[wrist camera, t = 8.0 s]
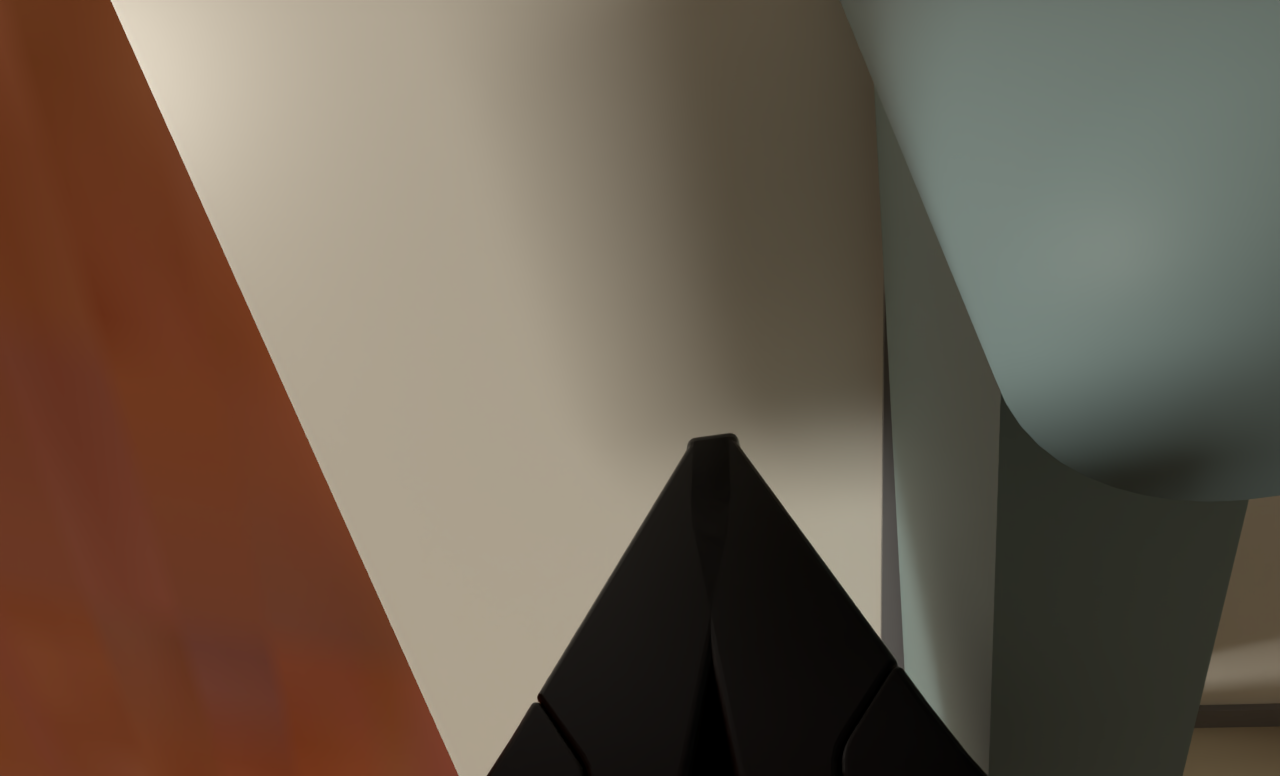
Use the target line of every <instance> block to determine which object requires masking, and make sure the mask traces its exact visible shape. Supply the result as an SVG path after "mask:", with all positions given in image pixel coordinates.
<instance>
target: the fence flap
mask: <svg viewBox="0 0 1280 776" xmlns="http://www.w3.org/2000/svg"><path fill="white" fill-rule="evenodd" d="M840 2H841V4H842V7H843V9H844V12H845V14H846V17H847V19H848V21H849V24H850V26H851V29H852V31H853V34H854V36H855V39H856V41H857V43H858V46H859V48H860V51H861V53H862V56H863V58H864V60H865V63H866V65H867V68H868V70H869V73H870V75H871V77H872V80H873V82H874V96H875V115H876V134H877V153H878V172H879V191H880V210H881V229H882V248H883V267H884V286H885V306H886V325H887V344H888V363H889V382H890V401H891V420H892V439H893V458H894V477H895V496H896V516H897V535H898V554H899V573H900V592H901V611H902V630H903V649H904V668H905V672H906V673H907V675H908V676H909V678H910V679H911V680H912V682H913V683H914V684H915V686H916V687H917V688H918V690H919V691H920V693H921V694H922V695H923V697H924V698H925V699H926V701H927V702H928V703H929V705H930V706H931V707H932V708H933V710H934V711H935V712H936V714H937V715H938V716H939V717H940V719H941V720H942V721H943V722H944V724H945V725H946V726H947V727H948V729H949V730H950V731H951V733H952V734H953V735H954V736H955V738H956V739H957V740H958V741H959V743H960V744H961V745H962V746H963V748H964V749H965V750H966V752H967V753H968V754H969V755H970V756H971V757H972V759H973V760H974V761H975V762H976V763H977V764H978V765H979V766H980V767H981V769H982V770H983V771H984V772H985V773H986V774H987V775H988V776H1183V772H1184V768H1185V764H1186V760H1187V755H1188V751H1189V747H1190V743H1191V739H1192V735H1193V731H1194V726H1195V722H1196V718H1197V714H1198V710H1199V706H1200V701H1201V697H1202V693H1203V689H1204V685H1205V681H1206V676H1207V672H1208V668H1209V664H1210V660H1211V656H1212V651H1213V647H1214V643H1215V639H1216V635H1217V631H1218V626H1219V622H1220V618H1221V614H1222V610H1223V606H1224V601H1225V597H1226V593H1227V589H1228V585H1229V581H1230V577H1231V572H1232V568H1233V564H1234V560H1235V556H1236V552H1237V547H1238V543H1239V539H1240V535H1241V531H1242V527H1243V522H1244V518H1245V514H1246V510H1247V506H1248V502H1249V499H1256V498H1264V497H1272V496H1280V0H840Z"/></svg>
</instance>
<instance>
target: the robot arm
mask: <svg viewBox="0 0 1280 776" xmlns="http://www.w3.org/2000/svg"><path fill="white" fill-rule="evenodd" d="M537 700H538V702H539V703H538V702H534V703H532V704H531V706H530V707H529V709H528V711H527V712H526V714H525V716H524V717H523V719H522V721H521V723H520V724H519V726H518V727H517V729H516V731H515V732H514V734H513V736H512V737H511V739H510V740H509V742H508V743H507V745H506V747H505V748H504V750H503V751H502V753H501V754H500V756H499V757H498V759H497V760H496V762H495V764H494V765H493V767H492V768H491V770H490V771H489V773H488V774H487V776H988V775H987V774H986V773H985V772H984V771H983V770H982V769H981V767H980V766H979V765H978V764H977V763H976V762H975V761H974V760H973V759H972V757H971V756H970V755H969V754H968V753H967V752H966V750H965V749H964V748H963V746H962V745H961V744H960V743H959V741H958V740H957V739H956V738H955V736H954V735H953V734H952V733H951V731H950V730H949V729H948V727H947V726H946V725H945V724H944V722H943V721H942V720H941V719H940V717H939V716H938V715H937V714H936V712H935V711H934V710H933V708H932V707H931V706H930V705H929V703H928V702H927V701H926V699H925V698H924V697H923V695H922V694H921V693H920V691H919V690H918V688H917V687H916V686H915V684H914V683H913V682H912V680H911V679H910V678H909V676H908V675H907V673H906V672H905V671H904V670H903V669H902V668H901V667H898V664H897V661H896V659H895V658H894V656H893V655H892V654H891V652H890V651H889V650H888V648H887V647H886V646H885V644H884V643H883V641H882V640H881V639H880V637H879V636H878V635H877V633H876V632H875V631H874V629H873V628H872V626H871V625H870V624H869V622H868V621H867V620H866V618H865V617H864V616H863V614H862V613H861V611H860V610H859V609H858V607H857V606H856V605H855V603H854V602H853V600H852V599H851V598H850V596H849V595H848V594H847V592H846V591H845V590H844V588H843V587H842V585H841V584H840V583H839V581H838V580H837V579H836V577H835V576H834V575H833V573H832V572H831V570H830V569H829V568H828V566H827V565H826V564H825V562H824V561H823V559H822V558H821V557H820V555H819V554H818V553H817V551H816V550H815V549H814V547H813V546H812V544H811V543H810V542H809V540H808V539H807V538H806V536H805V535H804V534H803V532H802V531H801V529H800V528H799V527H798V525H797V524H796V523H795V521H794V520H793V519H792V517H791V516H790V514H789V513H788V512H787V510H786V509H785V508H784V506H783V505H782V503H781V502H780V501H779V499H778V498H777V497H776V495H775V494H774V493H773V491H772V490H771V488H770V487H769V486H768V484H767V483H766V482H765V480H764V479H763V478H762V476H761V475H760V473H759V472H758V471H757V469H756V468H755V467H754V465H753V464H752V462H751V461H750V460H749V458H748V457H747V456H746V454H745V453H744V452H743V450H742V449H741V447H740V444H739V440H738V437H737V436H736V435H735V434H733V433H725V434H717V435H710V436H702V437H695V438H692V439H691V440H690V441H689V442H688V444H687V450H686V452H685V453H684V455H683V457H682V458H681V460H680V462H679V463H678V465H677V467H676V468H675V470H674V471H673V473H672V475H671V476H670V478H669V480H668V481H667V483H666V485H665V486H664V488H663V490H662V491H661V493H660V494H659V496H658V498H657V499H656V501H655V503H654V504H653V506H652V508H651V509H650V511H649V513H648V514H647V516H646V518H645V519H644V521H643V522H642V524H641V526H640V527H639V529H638V531H637V532H636V534H635V536H634V537H633V539H632V541H631V542H630V544H629V546H628V547H627V549H626V550H625V552H624V554H623V555H622V557H621V559H620V560H619V562H618V564H617V565H616V567H615V569H614V570H613V572H612V573H611V575H610V577H609V578H608V580H607V582H606V583H605V585H604V587H603V588H602V590H601V592H600V593H599V595H598V597H597V598H596V600H595V601H594V603H593V605H592V606H591V608H590V610H589V611H588V613H587V615H586V616H585V618H584V620H583V621H582V623H581V625H580V626H579V628H578V629H577V631H576V633H575V634H574V636H573V638H572V639H571V641H570V643H569V644H568V646H567V648H566V649H565V651H564V652H563V654H562V656H561V657H560V659H559V661H558V662H557V664H556V666H555V667H554V669H553V671H552V672H551V674H550V676H549V677H548V679H547V680H546V682H545V684H544V685H543V687H542V689H541V690H540V692H539V694H538V696H537Z"/></svg>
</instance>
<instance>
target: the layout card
mask: <svg viewBox="0 0 1280 776" xmlns="http://www.w3.org/2000/svg"><path fill="white" fill-rule="evenodd" d="M111 2H112V4H113V6H114V8H115V11H116V13H117V15H118V17H119V20H120V22H121V24H122V26H123V29H124V31H125V33H126V35H127V37H128V40H129V42H130V44H131V46H132V49H133V51H134V53H135V55H136V57H137V60H138V62H139V64H140V66H141V69H142V71H143V73H144V75H145V78H146V80H147V82H148V84H149V86H150V89H151V91H152V93H153V95H154V98H155V100H156V102H157V104H158V107H159V109H160V111H161V113H162V115H163V118H164V120H165V122H166V124H167V127H168V129H169V131H170V133H171V135H172V138H173V140H174V142H175V144H176V147H177V149H178V151H179V153H180V156H181V158H182V160H183V162H184V164H185V167H186V169H187V171H188V173H189V176H190V178H191V180H192V182H193V184H194V187H195V189H196V191H197V193H198V196H199V198H200V200H201V202H202V205H203V207H204V209H205V211H206V213H207V216H208V218H209V220H210V222H211V225H212V227H213V229H214V231H215V233H216V236H217V238H218V240H219V242H220V245H221V247H222V249H223V251H224V254H225V256H226V258H227V260H228V262H229V265H230V267H231V269H232V271H233V274H234V276H235V278H236V280H237V283H238V285H239V287H240V289H241V291H242V294H243V296H244V298H245V300H246V303H247V305H248V307H249V309H250V311H251V314H252V316H253V318H254V320H255V323H256V325H257V327H258V329H259V332H260V334H261V336H262V338H263V340H264V343H265V345H266V347H267V349H268V352H269V354H270V356H271V358H272V360H273V363H274V365H275V367H276V369H277V372H278V374H279V376H280V378H281V381H282V383H283V385H284V387H285V389H286V392H287V394H288V396H289V398H290V401H291V403H292V405H293V407H294V409H295V412H296V414H297V416H298V418H299V421H300V423H301V425H302V427H303V430H304V432H305V434H306V436H307V438H308V441H309V443H310V445H311V447H312V450H313V452H314V454H315V456H316V458H317V461H318V463H319V465H320V467H321V470H322V472H323V474H324V476H325V479H326V481H327V483H328V485H329V487H330V490H331V492H332V494H333V496H334V499H335V501H336V503H337V505H338V508H339V510H340V512H341V514H342V516H343V519H344V521H345V523H346V525H347V528H348V530H349V532H350V534H351V536H352V539H353V541H354V543H355V545H356V548H357V550H358V552H359V554H360V557H361V559H362V561H363V563H364V565H365V568H366V570H367V572H368V574H369V577H370V579H371V581H372V583H373V585H374V588H375V590H376V592H377V594H378V597H379V599H380V601H381V603H382V606H383V608H384V610H385V612H386V614H387V617H388V619H389V621H390V623H391V626H392V628H393V630H394V632H395V634H396V637H397V639H398V641H399V643H400V646H401V648H402V650H403V652H404V655H405V657H406V659H407V661H408V663H409V666H410V668H411V670H412V672H413V675H414V677H415V679H416V681H417V683H418V686H419V688H420V690H421V692H422V695H423V697H424V699H425V701H426V704H427V706H428V708H429V710H430V712H431V715H432V717H433V719H434V721H435V724H436V726H437V728H438V730H439V733H440V735H441V737H442V739H443V741H444V744H445V746H446V748H447V750H448V753H449V755H450V757H451V759H452V761H453V764H454V766H455V768H456V770H457V773H458V775H459V776H487V774H488V773H489V771H490V770H491V768H492V767H493V765H494V764H495V762H496V760H497V759H498V757H499V756H500V754H501V753H502V751H503V750H504V748H505V747H506V745H507V743H508V742H509V740H510V739H511V737H512V736H513V734H514V732H515V731H516V729H517V727H518V726H519V724H520V723H521V721H522V719H523V717H524V716H525V714H526V712H527V711H528V709H529V707H530V706H531V704H532V703H534V702H538V700H537V696H538V694H539V692H540V690H541V689H542V687H543V685H544V684H545V682H546V680H547V679H548V677H549V676H550V674H551V672H552V671H553V669H554V667H555V666H556V664H557V662H558V661H559V659H560V657H561V656H562V654H563V652H564V651H565V649H566V648H567V646H568V644H569V643H570V641H571V639H572V638H573V636H574V634H575V633H576V631H577V629H578V628H579V626H580V625H581V623H582V621H583V620H584V618H585V616H586V615H587V613H588V611H589V610H590V608H591V606H592V605H593V603H594V601H595V600H596V598H597V597H598V595H599V593H600V592H601V590H602V588H603V587H604V585H605V583H606V582H607V580H608V578H609V577H610V575H611V573H612V572H613V570H614V569H615V567H616V565H617V564H618V562H619V560H620V559H621V557H622V555H623V554H624V552H625V550H626V549H627V547H628V546H629V544H630V542H631V541H632V539H633V537H634V536H635V534H636V532H637V531H638V529H639V527H640V526H641V524H642V522H643V521H644V519H645V518H646V516H647V514H648V513H649V511H650V509H651V508H652V506H653V504H654V503H655V501H656V499H657V498H658V496H659V494H660V493H661V491H662V490H663V488H664V486H665V485H666V483H667V481H668V480H669V478H670V476H671V475H672V473H673V471H674V470H675V468H676V467H677V465H678V463H679V462H680V460H681V458H682V457H683V455H684V453H685V452H686V450H687V444H688V442H689V441H690V440H691V439H692V438H695V437H702V436H710V435H717V434H725V433H733V434H735V435H736V436H737V437H738V440H739V444H740V447H741V449H742V450H743V452H744V453H745V454H746V456H747V457H748V458H749V460H750V461H751V462H752V464H753V465H754V467H755V468H756V469H757V471H758V472H759V473H760V475H761V476H762V478H763V479H764V480H765V482H766V483H767V484H768V486H769V487H770V488H771V490H772V491H773V493H774V494H775V495H776V497H777V498H778V499H779V501H780V502H781V503H782V505H783V506H784V508H785V509H786V510H787V512H788V513H789V514H790V516H791V517H792V519H793V520H794V521H795V523H796V524H797V525H798V527H799V528H800V529H801V531H802V532H803V534H804V535H805V536H806V538H807V539H808V540H809V542H810V543H811V544H812V546H813V547H814V549H815V550H816V551H817V553H818V554H819V555H820V557H821V558H822V559H823V561H824V562H825V564H826V565H827V566H828V568H829V569H830V570H831V572H832V573H833V575H834V576H835V577H836V579H837V580H838V581H839V583H840V584H841V585H842V587H843V588H844V590H845V591H846V592H847V594H848V595H849V596H850V598H851V599H852V600H853V602H854V603H855V605H856V606H857V607H858V609H859V610H860V611H861V613H862V614H863V616H864V617H865V618H866V620H867V621H868V622H869V624H870V625H871V626H872V628H873V629H874V631H875V632H876V633H877V635H878V636H879V637H880V639H881V640H882V641H883V643H884V644H885V646H886V647H887V648H888V650H889V651H890V652H891V654H892V655H893V656H894V658H895V659H896V661H897V664H898V667H901V668H902V669H903V670H904V671H905V668H904V649H903V630H902V611H901V592H900V573H899V554H898V535H897V516H896V496H895V477H894V458H893V439H892V420H891V401H890V382H889V363H888V344H887V325H886V306H885V286H884V267H883V248H882V229H881V210H880V191H879V172H878V153H877V134H876V115H875V96H874V82H873V80H872V77H871V75H870V73H869V70H868V68H867V65H866V63H865V60H864V58H863V56H862V53H861V51H860V48H859V46H858V43H857V41H856V39H855V36H854V34H853V31H852V29H851V26H850V24H849V21H848V19H847V17H846V14H845V12H844V9H843V7H842V4H841V2H840V0H111ZM538 703H539V702H538ZM1224 727H1280V496H1272V497H1264V498H1256V499H1249V502H1248V506H1247V510H1246V514H1245V518H1244V522H1243V527H1242V531H1241V535H1240V539H1239V543H1238V547H1237V552H1236V556H1235V560H1234V564H1233V568H1232V572H1231V577H1230V581H1229V585H1228V589H1227V593H1226V597H1225V601H1224V606H1223V610H1222V614H1221V618H1220V622H1219V626H1218V631H1217V635H1216V639H1215V643H1214V647H1213V651H1212V656H1211V660H1210V664H1209V668H1208V672H1207V676H1206V681H1205V685H1204V689H1203V693H1202V697H1201V701H1200V706H1199V710H1198V714H1197V718H1196V722H1195V726H1194V728H1224Z"/></svg>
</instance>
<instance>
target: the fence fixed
mask: <svg viewBox="0 0 1280 776" xmlns="http://www.w3.org/2000/svg"><path fill="white" fill-rule="evenodd" d="M1183 776H1280V727H1224V728H1194V731H1193V735H1192V739H1191V743H1190V747H1189V751H1188V755H1187V760H1186V764H1185V768H1184V772H1183Z"/></svg>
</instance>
